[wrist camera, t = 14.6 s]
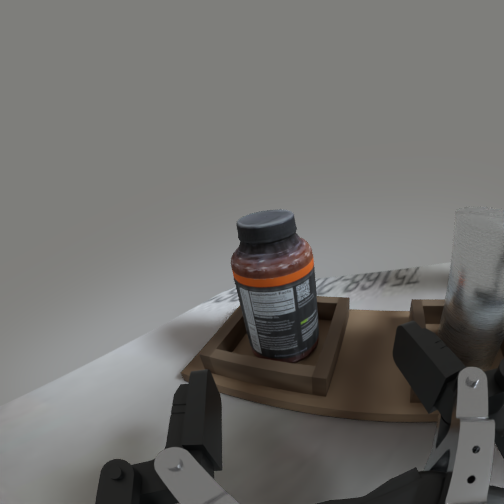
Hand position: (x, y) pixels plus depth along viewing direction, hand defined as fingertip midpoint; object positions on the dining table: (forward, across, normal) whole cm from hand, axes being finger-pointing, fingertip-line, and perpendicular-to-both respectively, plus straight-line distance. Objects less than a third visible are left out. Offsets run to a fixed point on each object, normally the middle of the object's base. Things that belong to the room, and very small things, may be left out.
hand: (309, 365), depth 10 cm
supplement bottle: (+10, 0, +8) cm, 13 cm away
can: (+3, -14, +8) cm, 16 cm away
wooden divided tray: (+6, -7, +8) cm, 13 cm away
